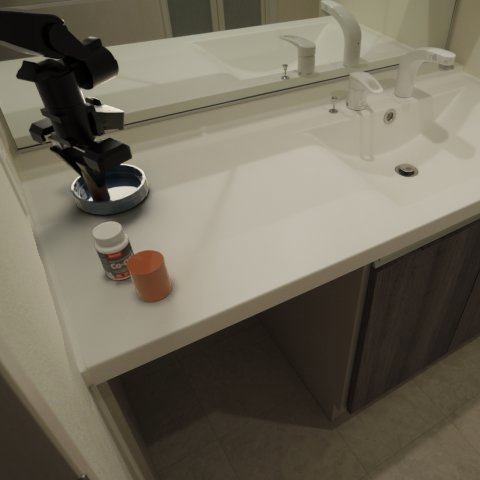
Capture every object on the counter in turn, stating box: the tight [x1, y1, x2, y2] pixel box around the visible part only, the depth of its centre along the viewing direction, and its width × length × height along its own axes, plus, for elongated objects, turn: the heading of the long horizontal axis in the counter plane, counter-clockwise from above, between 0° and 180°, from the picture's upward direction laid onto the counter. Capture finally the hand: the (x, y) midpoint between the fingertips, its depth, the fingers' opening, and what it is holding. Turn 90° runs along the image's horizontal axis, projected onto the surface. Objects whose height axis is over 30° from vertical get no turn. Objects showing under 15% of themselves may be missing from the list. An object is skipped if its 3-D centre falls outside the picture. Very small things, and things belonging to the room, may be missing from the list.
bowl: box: [70, 163, 150, 216], centre depth 79 cm, size 13×13×3 cm
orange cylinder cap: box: [127, 249, 173, 303], centre depth 62 cm, size 5×5×6 cm
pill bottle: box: [91, 221, 135, 281], centre depth 63 cm, size 5×5×8 cm
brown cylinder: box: [81, 169, 111, 201], centre depth 75 cm, size 3×3×7 cm
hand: (95, 183), depth 75 cm, fingers closed on brown cylinder, 3 cm apart
